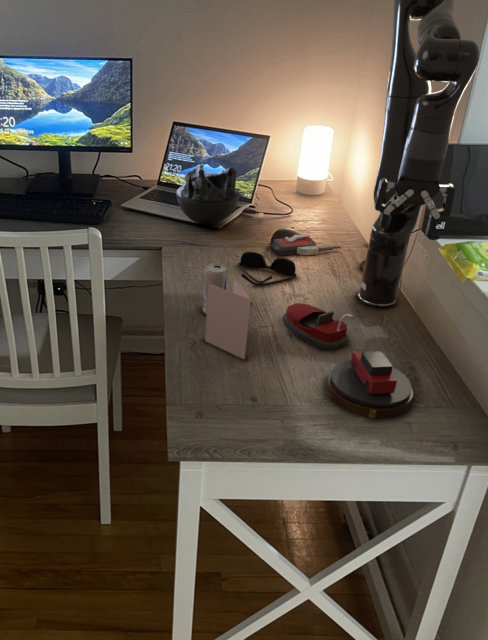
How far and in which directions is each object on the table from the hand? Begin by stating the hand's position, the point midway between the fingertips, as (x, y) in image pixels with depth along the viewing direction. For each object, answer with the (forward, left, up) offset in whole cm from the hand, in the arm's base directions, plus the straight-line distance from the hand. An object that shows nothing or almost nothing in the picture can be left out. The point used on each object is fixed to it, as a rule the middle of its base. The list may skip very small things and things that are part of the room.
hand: (406, 232), depth 138 cm
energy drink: (+1, -41, -30) cm, 51 cm away
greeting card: (+15, -31, -30) cm, 46 cm away
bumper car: (-2, -15, -30) cm, 34 cm away
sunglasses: (-22, -38, -30) cm, 53 cm away
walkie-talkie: (-48, -35, -30) cm, 67 cm away
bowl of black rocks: (-52, -70, -30) cm, 92 cm away
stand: (+15, +2, -30) cm, 34 cm away
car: (+15, +2, -28) cm, 32 cm away
